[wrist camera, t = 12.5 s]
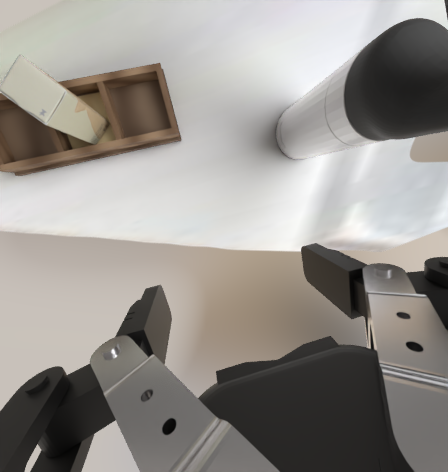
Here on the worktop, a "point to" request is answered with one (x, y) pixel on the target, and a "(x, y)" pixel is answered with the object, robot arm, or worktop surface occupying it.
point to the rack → (103, 102)
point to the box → (51, 102)
